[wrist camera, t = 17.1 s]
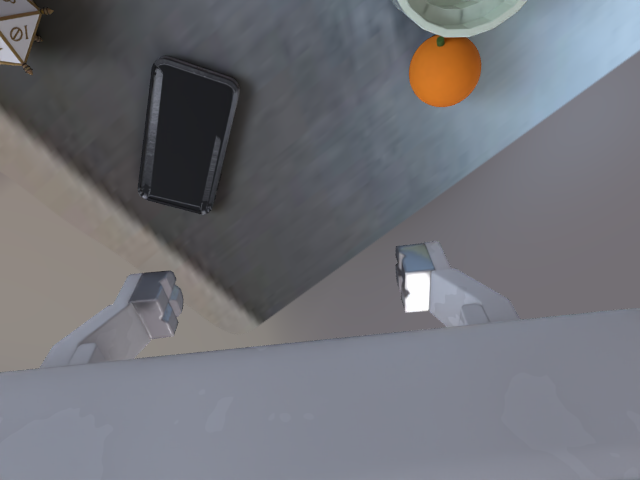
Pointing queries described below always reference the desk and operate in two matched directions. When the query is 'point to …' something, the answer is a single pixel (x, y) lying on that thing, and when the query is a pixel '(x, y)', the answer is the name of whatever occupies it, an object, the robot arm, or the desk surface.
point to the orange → (444, 70)
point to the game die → (19, 30)
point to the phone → (186, 134)
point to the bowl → (458, 15)
